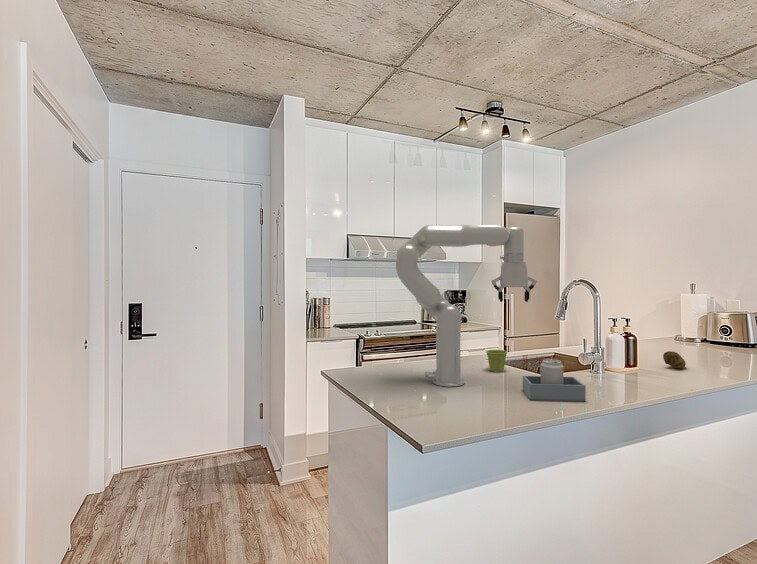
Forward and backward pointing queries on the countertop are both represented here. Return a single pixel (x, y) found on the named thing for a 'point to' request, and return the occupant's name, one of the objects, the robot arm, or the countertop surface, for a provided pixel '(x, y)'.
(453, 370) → the robot arm
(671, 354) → the avocado
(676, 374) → the countertop surface
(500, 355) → the plant pot
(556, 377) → the can
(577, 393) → the tote
